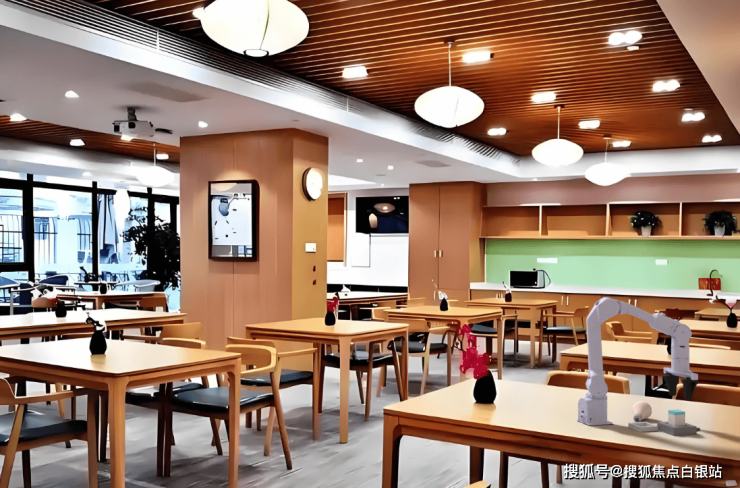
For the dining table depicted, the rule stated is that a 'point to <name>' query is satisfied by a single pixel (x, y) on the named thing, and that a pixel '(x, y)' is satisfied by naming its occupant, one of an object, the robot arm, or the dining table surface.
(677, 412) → the plug
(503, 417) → the dining table surface
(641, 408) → the light bulb
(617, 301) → the robot arm
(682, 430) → the panel
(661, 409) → the dining table surface
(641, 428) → the tray
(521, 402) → the dining table surface
